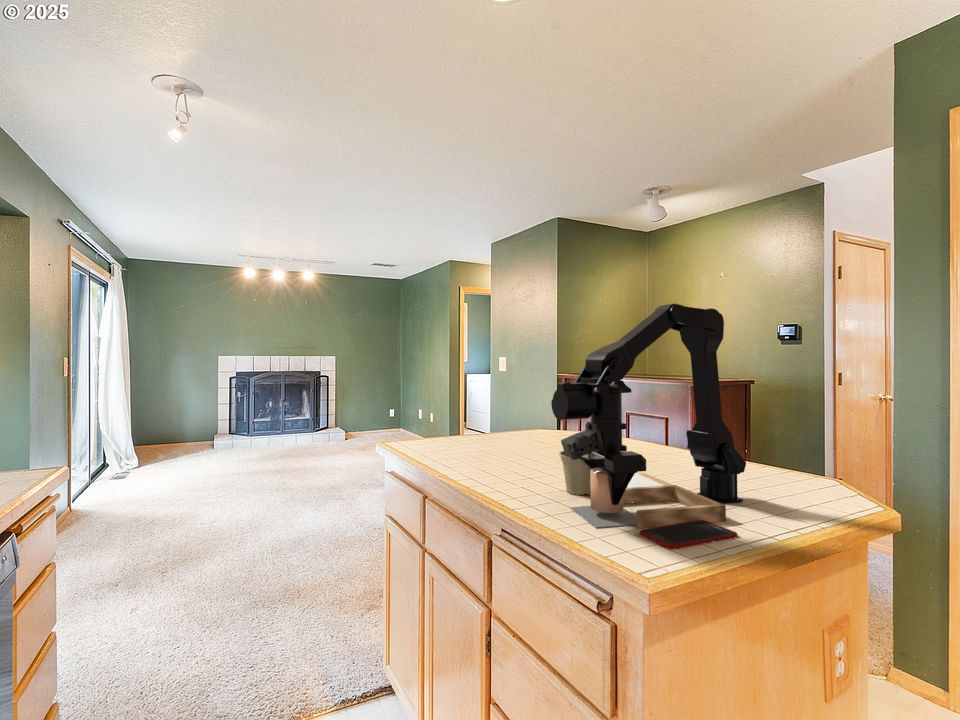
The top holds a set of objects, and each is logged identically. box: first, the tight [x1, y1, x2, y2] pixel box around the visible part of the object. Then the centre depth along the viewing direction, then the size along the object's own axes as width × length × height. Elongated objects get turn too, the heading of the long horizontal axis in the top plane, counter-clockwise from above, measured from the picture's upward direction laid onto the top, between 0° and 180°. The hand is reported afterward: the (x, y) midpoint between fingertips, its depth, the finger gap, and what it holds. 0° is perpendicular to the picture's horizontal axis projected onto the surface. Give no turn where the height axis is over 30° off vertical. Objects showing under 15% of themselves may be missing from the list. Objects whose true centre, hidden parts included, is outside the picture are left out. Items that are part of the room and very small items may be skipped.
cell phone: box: [638, 520, 738, 550], centre depth 82 cm, size 8×15×1 cm, turn 111°
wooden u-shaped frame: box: [623, 484, 727, 529], centre depth 95 cm, size 17×15×3 cm
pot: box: [590, 467, 625, 513], centre depth 92 cm, size 6×6×7 cm
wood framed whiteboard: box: [627, 472, 673, 488], centre depth 114 cm, size 17×12×1 cm
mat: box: [569, 505, 637, 529], centre depth 92 cm, size 10×12×1 cm
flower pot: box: [558, 450, 591, 496], centre depth 110 cm, size 9×9×9 cm
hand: (607, 500), depth 92 cm, fingers closed on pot, 6 cm apart
